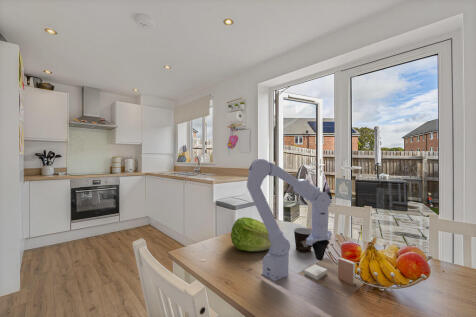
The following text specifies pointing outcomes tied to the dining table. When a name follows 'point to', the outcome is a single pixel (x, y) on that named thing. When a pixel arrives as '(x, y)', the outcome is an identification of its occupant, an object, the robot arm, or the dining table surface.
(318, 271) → the tile
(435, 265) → the dining table surface
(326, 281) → the board
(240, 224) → the lettuce
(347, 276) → the tile
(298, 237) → the coffee mug
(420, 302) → the dining table surface
